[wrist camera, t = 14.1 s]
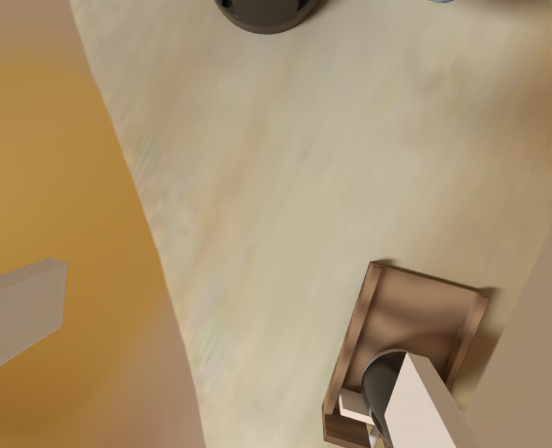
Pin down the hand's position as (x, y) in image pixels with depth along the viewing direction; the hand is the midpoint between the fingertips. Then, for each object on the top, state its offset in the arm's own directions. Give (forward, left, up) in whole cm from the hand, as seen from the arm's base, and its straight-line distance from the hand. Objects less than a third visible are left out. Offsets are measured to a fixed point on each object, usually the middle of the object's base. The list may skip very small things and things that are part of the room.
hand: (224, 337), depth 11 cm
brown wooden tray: (+20, +15, -31) cm, 40 cm away
